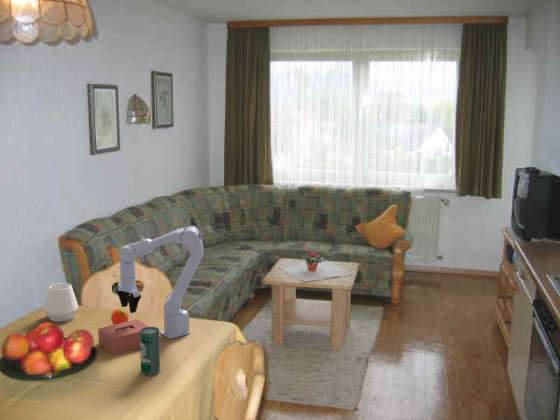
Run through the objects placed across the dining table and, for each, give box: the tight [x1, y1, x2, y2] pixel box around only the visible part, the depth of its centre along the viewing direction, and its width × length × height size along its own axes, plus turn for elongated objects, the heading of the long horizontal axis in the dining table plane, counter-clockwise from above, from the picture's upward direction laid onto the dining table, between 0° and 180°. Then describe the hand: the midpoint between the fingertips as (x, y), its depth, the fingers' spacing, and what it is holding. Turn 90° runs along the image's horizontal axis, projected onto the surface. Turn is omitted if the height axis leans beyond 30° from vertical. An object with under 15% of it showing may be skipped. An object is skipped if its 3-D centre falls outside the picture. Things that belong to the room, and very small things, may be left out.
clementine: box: [110, 308, 130, 325], centre depth 231 cm, size 8×7×7 cm
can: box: [139, 326, 161, 377], centre depth 192 cm, size 6×6×15 cm
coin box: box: [97, 318, 149, 355], centre depth 214 cm, size 16×12×6 cm
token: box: [117, 327, 131, 332], centre depth 214 cm, size 5×2×5 cm, turn 128°
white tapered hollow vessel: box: [43, 282, 79, 323], centre depth 237 cm, size 13×13×14 cm
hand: (128, 309), depth 221 cm, fingers open, 7 cm apart
